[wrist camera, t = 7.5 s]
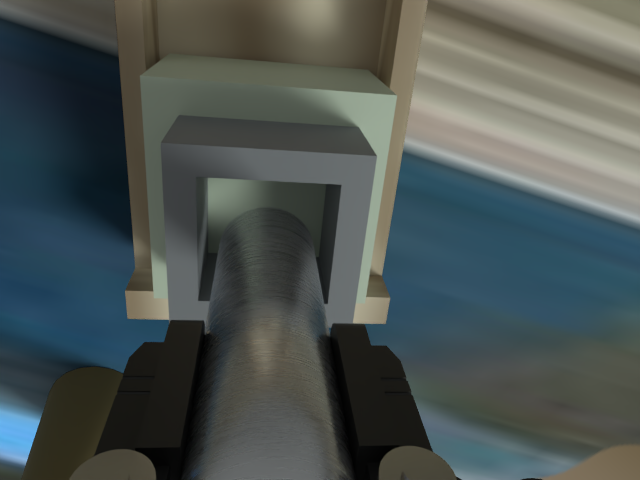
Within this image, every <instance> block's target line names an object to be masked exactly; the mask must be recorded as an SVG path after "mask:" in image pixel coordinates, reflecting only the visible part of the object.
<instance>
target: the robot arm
mask: <svg viewBox="0 0 640 480" xmlns="http://www.w3.org/2000/svg"><path fill="white" fill-rule="evenodd" d="M204 337H205V323H204V320H171V321H170V323H169V327H168V330H167V334H166V337H165V341H164V342H144V343H143V344H142V345H141V346H140V347H139V348H138V349H137V350H136V351H135V352H134V353H133V354H132V355H131V356H130V357H129V360H128V362H127V365H126V368H125V371H124V374H123V379H121V382H120V385H119V387H118V390H117V395H116V396H115V399H114V401H113V404H112V407H111V410H110V413H109V415H108V418H107V421H106V424H105V426H104V429H103V432H102V435H101V438H100V440H99V443H98V446H97V449H96V452H95V454H94V456H93V457H92V458H90V459H89V460H87V461H85V462H84V463H83V464H82V465H81V466H79V467H78V468H77V469H76V470H75V472H74V473H73V474H72V476H71V477H70V478H69V480H180V477H181V474H182V468H183V462H184V456H185V450H186V444H187V438H188V432H189V426H190V420H191V414H192V409H193V403H194V397H195V391H196V385H197V379H198V373H199V367H200V361H201V355H202V349H203V343H204ZM330 340H331V346H332V351H333V357H334V362H335V368H336V373H337V379H338V384H339V390H340V395H341V401H342V406H343V412H344V417H345V423H346V428H347V434H348V439H349V445H350V450H351V456H352V461H353V467H354V472H355V476H356V480H461V479H459V478H458V477H456V476H455V474H454V472H453V470H452V469H451V467H450V466H449V465H448V464H447V462H446V461H445V460H443V459H442V458H441V457H440V456H438V455H437V454H435V453H434V452H433V451H432V448H431V446H430V443H429V440H428V437H427V434H426V432H425V429H424V426H423V423H422V420H421V418H420V415H419V412H418V409H417V406H416V403H415V401H414V398H413V395H411V389H410V387H409V384H408V381H406V375H405V372H404V370H403V367H402V364H401V361H400V360H399V359H398V358H397V357H396V356H395V354H394V353H393V352H392V351H391V350H390V349H389V348H388V347H387V346H371V344H370V340H369V337H368V333H367V330H366V327H365V325H364V324H353V323H333V324H332V327H331V332H330ZM522 480H542V479H535V478H527V479H522Z"/></svg>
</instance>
